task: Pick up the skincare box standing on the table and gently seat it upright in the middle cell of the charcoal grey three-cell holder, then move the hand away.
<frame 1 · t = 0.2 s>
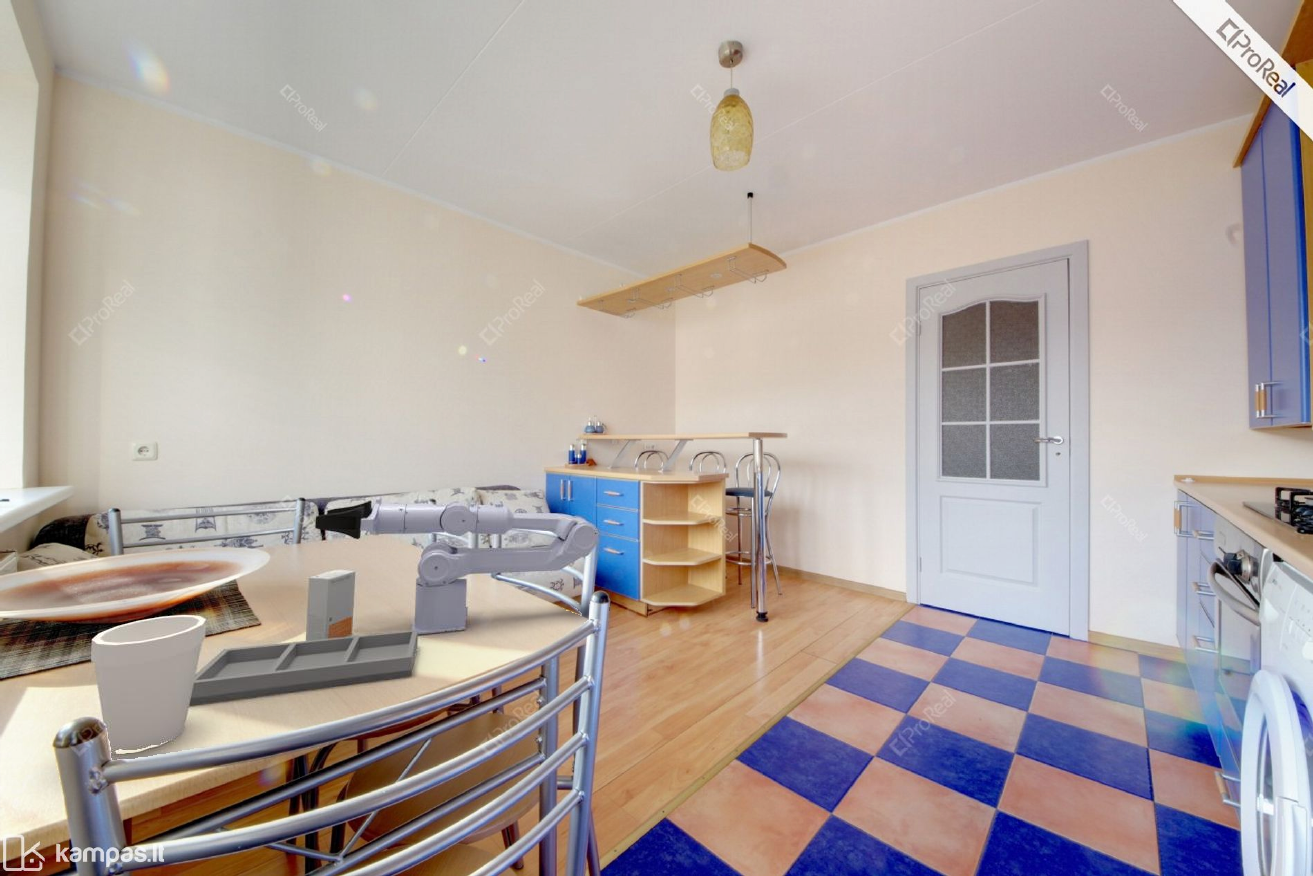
hand: (321, 518, 89), 22 cm above the table, tool horizontal, fingers open, 7 cm apart
skincare box: (330, 642, 87), on the table
foam cup: (147, 739, 58), on the table
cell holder: (316, 672, 76), on the table
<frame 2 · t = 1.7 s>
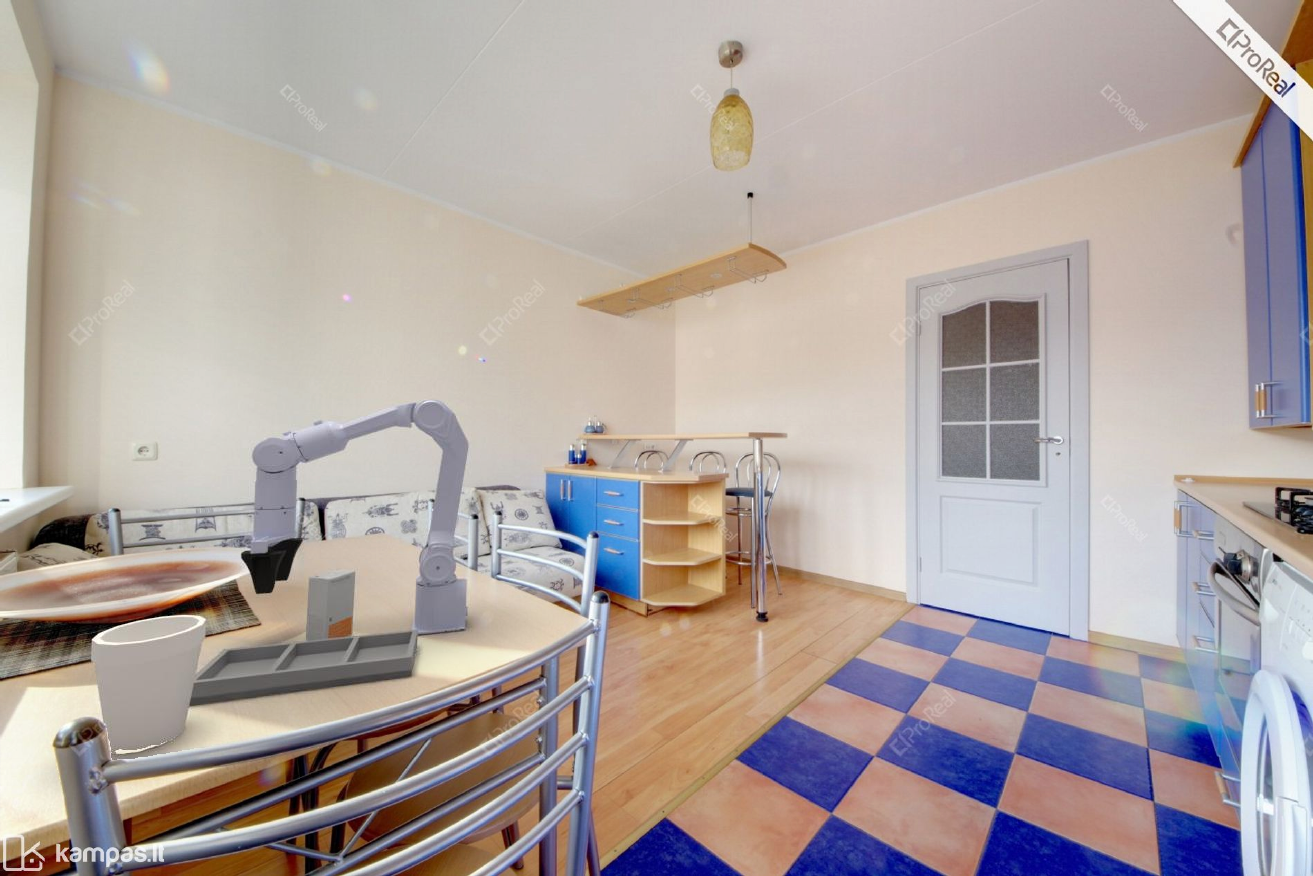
hand: (272, 586, 84), 10 cm above the table, tool pointing down, fingers open, 7 cm apart
nothing on the table moved.
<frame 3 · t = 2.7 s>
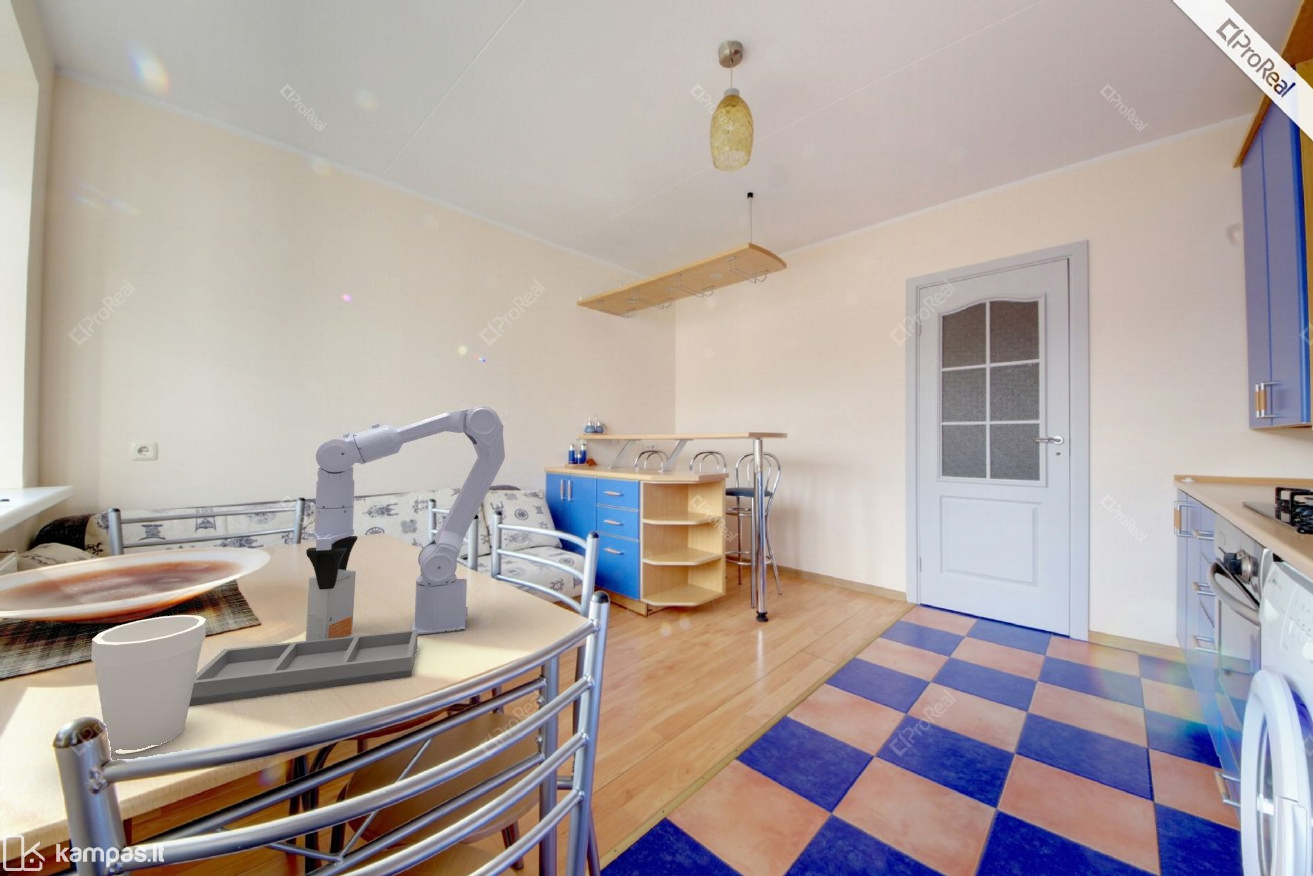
hand: (332, 582, 88), 10 cm above the table, tool pointing down, fingers open, 7 cm apart
skincare box: (330, 642, 87), on the table, touching gripper
everything else where it was.
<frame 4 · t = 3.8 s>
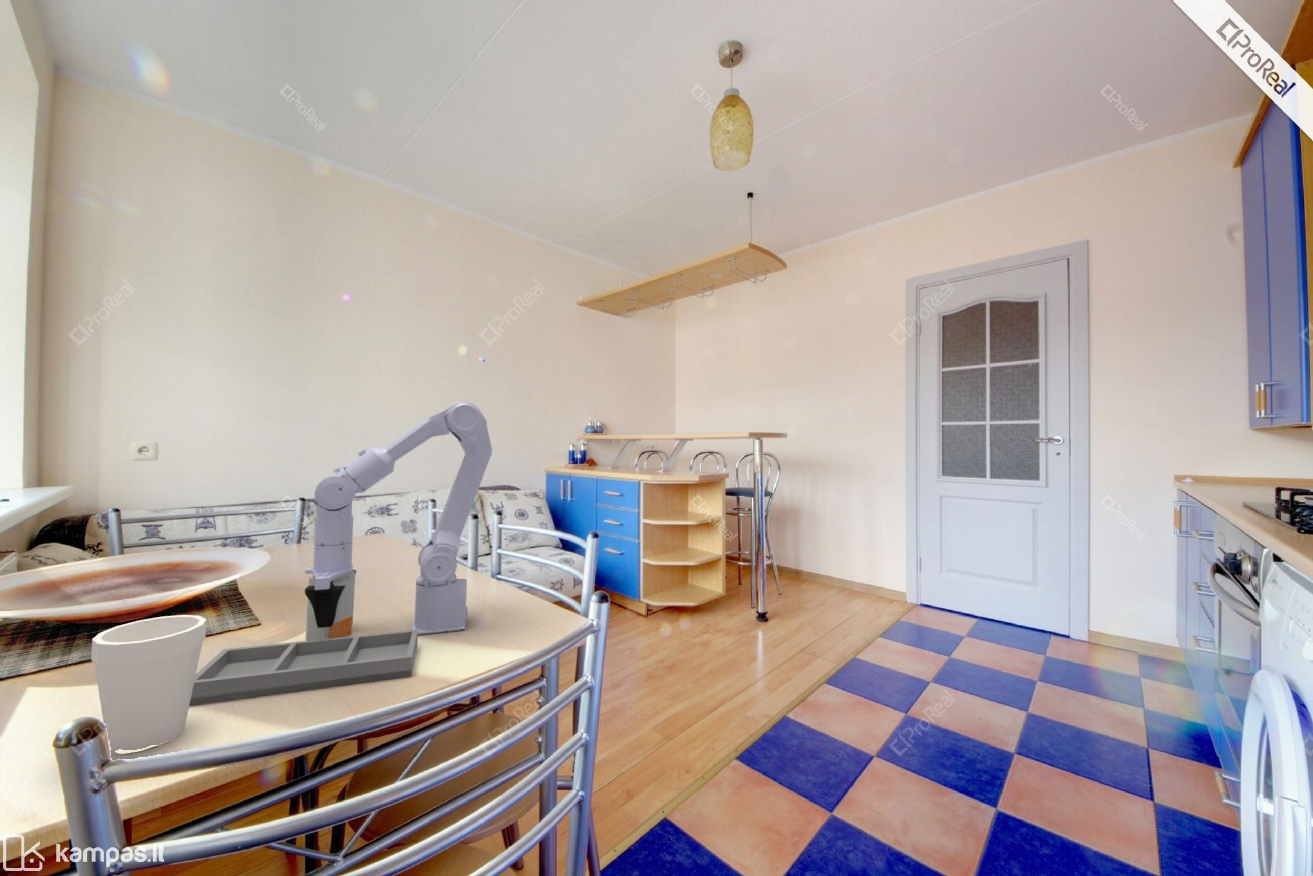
hand: (330, 619, 87), 4 cm above the table, tool pointing down, fingers open, 7 cm apart
nothing on the table moved.
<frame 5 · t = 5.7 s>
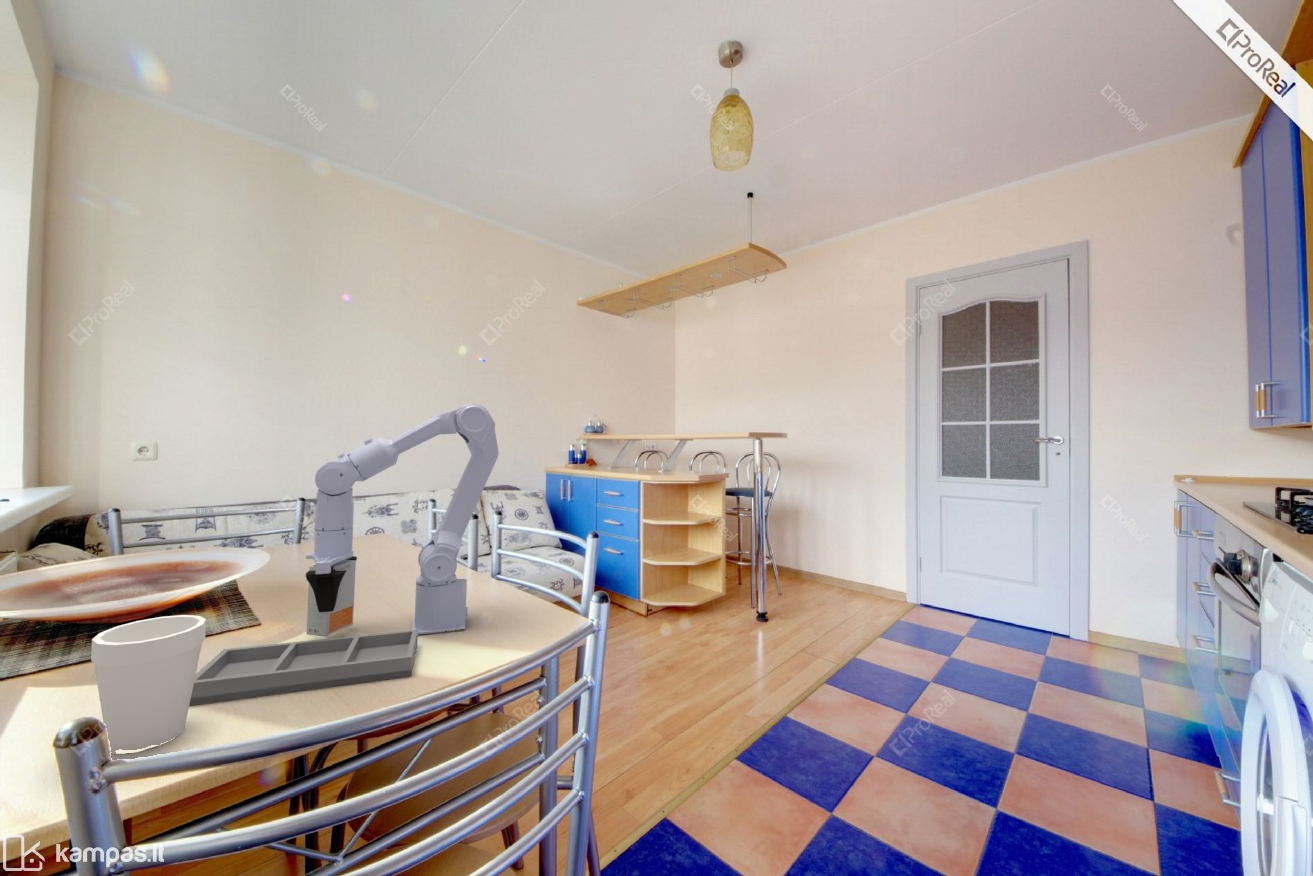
hand: (331, 604, 88), 6 cm above the table, tool pointing down, fingers closed on skincare box, 7 cm apart
skincare box: (330, 631, 88), point 2 cm above the table, touching gripper
everything else where it was.
when the fingers open (10 cm above the table, at t = 7.8 s): skincare box stays where it is, resting on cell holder.
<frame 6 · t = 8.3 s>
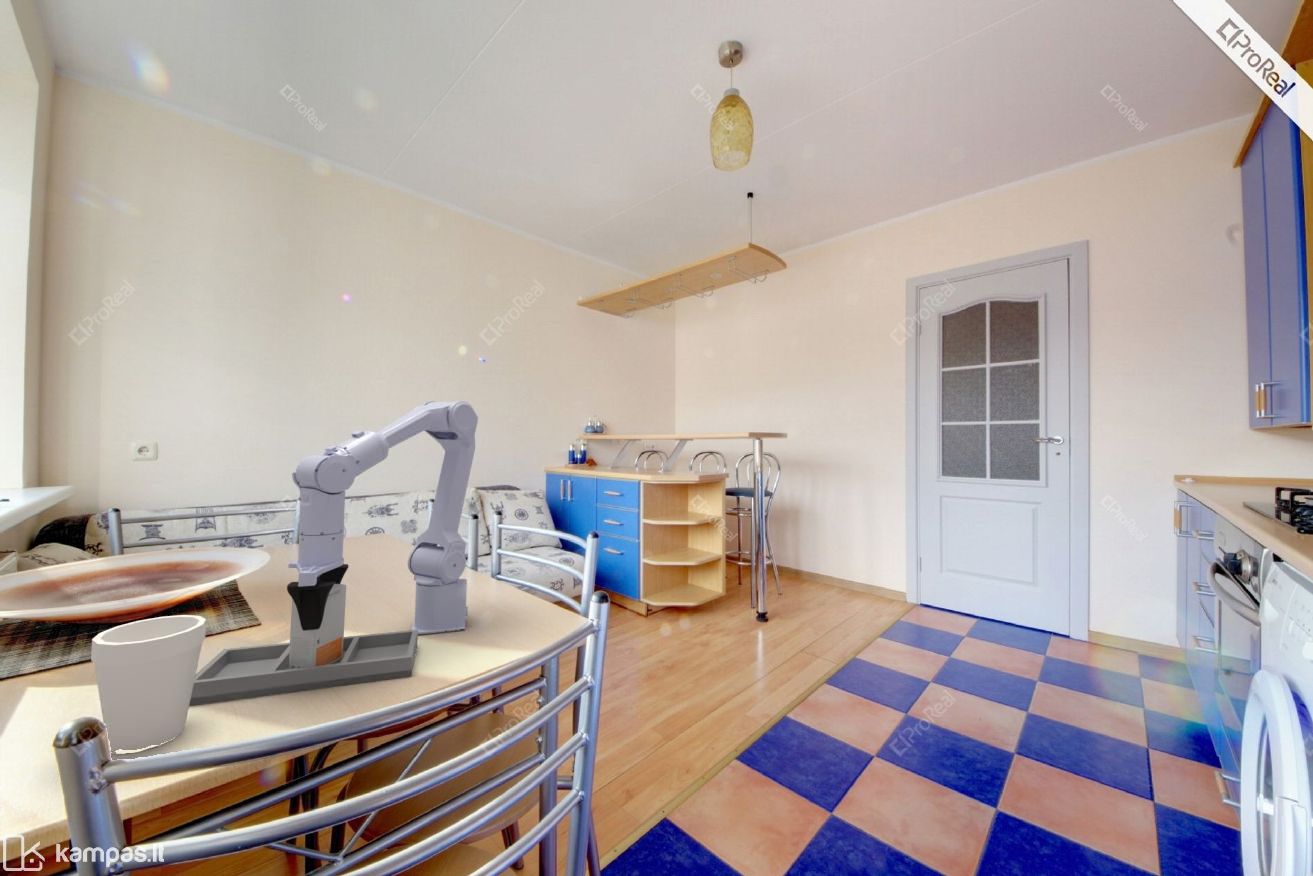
hand: (318, 620, 76), 8 cm above the table, tool pointing down, fingers open, 7 cm apart
skincare box: (317, 667, 76), point 1 cm above the table, touching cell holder, gripper
everything else where it was.
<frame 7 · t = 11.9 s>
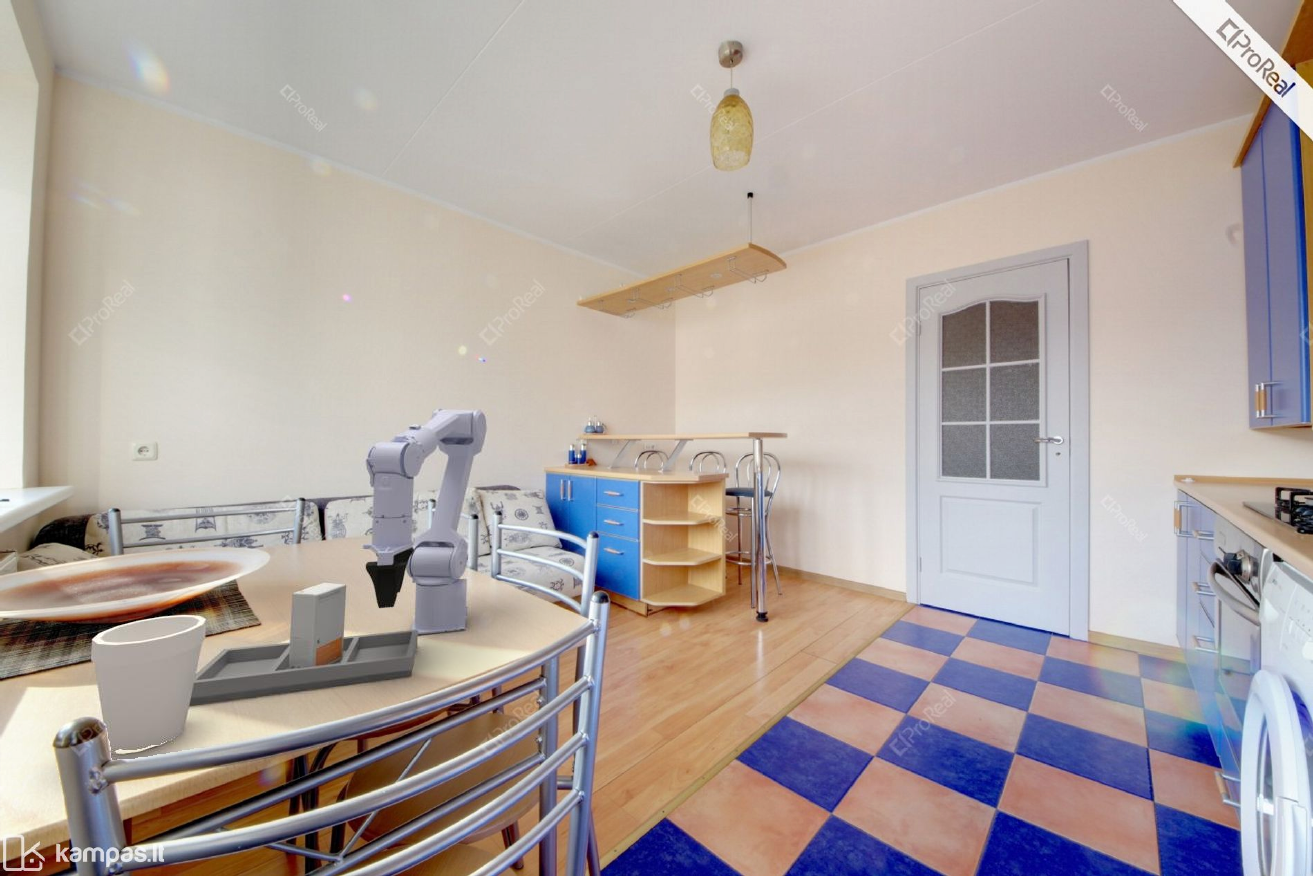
hand: (389, 599, 79), 10 cm above the table, tool pointing down, fingers open, 7 cm apart
skincare box: (317, 667, 76), point 1 cm above the table, touching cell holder
everything else where it was.
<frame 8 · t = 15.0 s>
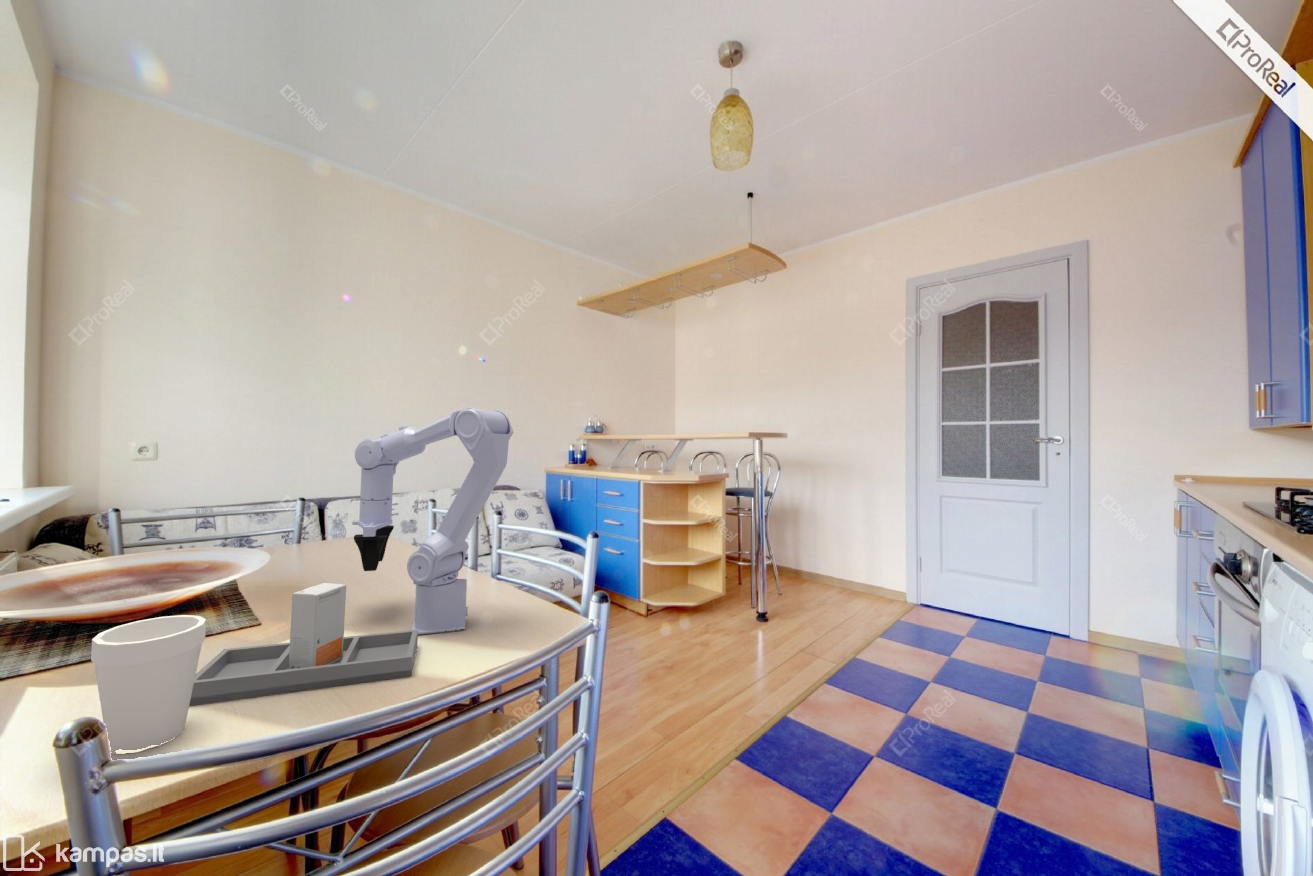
hand: (373, 565, 100), 10 cm above the table, tool pointing down, fingers open, 7 cm apart
nothing on the table moved.
at the end: skincare box 0.0 cm off-centre on the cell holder, point 0.8 cm above the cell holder's base; skincare box tilted 0°; the gripper is holding nothing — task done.
